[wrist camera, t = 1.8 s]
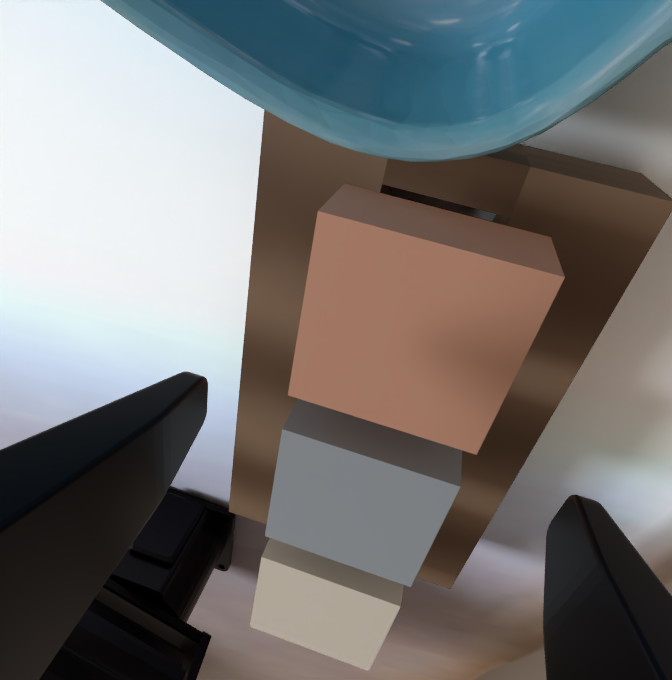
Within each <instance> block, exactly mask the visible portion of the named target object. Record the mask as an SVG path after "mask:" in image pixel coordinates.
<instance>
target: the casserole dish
mask: <svg viewBox="0 0 672 680" xmlns="http://www.w3.org/2000/svg"><path fill="white" fill-rule="evenodd" d="M101 1H102V2H104V3H105V4H106V5H108V6H109V7H111V8H112V9H113V10H115V11H116V12H117V13H119V14H120V15H122V16H123V17H124V18H126V19H127V20H129V21H130V22H131V23H133V24H134V25H135V26H137V27H138V28H140V29H141V30H143V31H144V32H146V33H147V34H149V35H150V36H151V37H153V38H154V39H156V40H157V41H159V42H160V43H162V44H163V45H165V46H166V47H168V48H169V49H170V50H172V51H173V52H175V53H176V54H178V55H179V56H181V57H182V58H184V59H185V60H187V61H188V62H190V63H191V64H192V65H194V66H195V67H197V68H198V69H200V70H201V71H203V72H204V73H206V74H207V75H209V76H210V77H212V78H213V79H215V80H217V81H218V82H220V83H221V84H223V85H224V86H226V87H228V88H229V89H231V90H232V91H234V92H236V93H237V94H239V95H240V96H242V97H243V98H245V99H247V100H249V101H250V102H252V103H254V104H256V105H257V106H259V107H261V108H263V109H264V110H266V111H268V112H270V113H272V114H273V115H275V116H277V117H279V118H280V119H282V120H284V121H286V122H287V123H289V124H292V125H294V126H296V127H298V128H300V129H302V130H304V131H306V132H308V133H311V134H313V135H315V136H317V137H319V138H321V139H323V140H325V141H327V142H330V143H333V144H336V145H339V146H342V147H345V148H348V149H351V150H354V151H358V152H362V153H366V154H370V155H374V156H378V157H383V158H389V159H396V160H403V161H409V162H441V161H451V160H462V159H471V158H475V157H479V156H483V155H487V154H491V153H495V152H499V151H501V150H504V149H506V148H508V147H511V146H513V145H516V144H518V143H520V142H523V141H525V140H527V139H530V138H532V137H534V136H536V135H539V134H541V133H543V132H545V131H546V130H548V129H550V128H551V127H553V126H554V125H556V124H558V123H559V122H561V121H563V120H564V119H566V118H567V117H569V116H571V115H572V114H574V113H575V112H577V111H579V110H580V109H582V108H583V107H585V106H586V105H588V104H589V103H591V102H592V101H594V100H596V99H597V98H598V97H600V96H601V95H602V94H604V93H605V92H606V91H608V90H609V89H610V88H612V87H613V86H614V85H616V84H617V83H618V82H620V81H621V80H623V79H624V78H625V77H627V76H628V75H629V74H630V73H632V72H633V71H634V70H635V69H637V68H638V67H639V66H640V65H642V64H643V63H644V62H645V61H647V60H648V59H649V58H650V57H652V56H653V55H654V54H655V53H657V52H658V51H659V50H660V49H662V48H663V47H664V46H666V45H668V44H669V43H671V42H672V0H101Z"/></svg>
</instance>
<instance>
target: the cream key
mask: <svg viewBox="0 0 672 680" xmlns="http://www.w3.org/2000/svg"><path fill="white" fill-rule="evenodd" d="M403 588H404V585H403V584H400V583H397V582H394V581H391V580H388V579H386V578H383V577H380V576H377V575H374V574H371V573H369V572H366V571H363V570H360V569H357V568H354V567H351V566H349V565H346V564H343V563H340V562H337V561H334V560H332V559H329V558H326V557H323V556H320V555H317V554H315V553H312V552H309V551H306V550H303V549H300V548H297V547H295V546H292V545H289V544H286V543H283V542H280V541H278V540H275V539H272V538H269V540H268V543H267V545H266V547H265V550H264V552H263V554H262V557H261V562H260V569H259V575H258V581H257V587H256V593H255V599H254V605H253V611H252V617H251V624H250V627H252V628H255V629H258V630H260V631H263V632H266V633H268V634H271V635H274V636H276V637H279V638H282V639H284V640H287V641H290V642H292V643H295V644H298V645H300V646H303V647H306V648H308V649H311V650H314V651H316V652H319V653H322V654H324V655H327V656H330V657H332V658H335V659H338V660H340V661H343V662H346V663H348V664H351V665H354V666H356V667H359V668H362V669H364V670H367V671H369V670H370V668H371V666H372V664H373V662H374V660H375V658H376V656H377V653H378V651H379V649H380V647H381V645H382V643H383V641H384V639H385V637H386V635H387V633H388V631H389V629H390V627H391V625H392V623H393V621H394V619H395V617H396V615H397V613H398V611H399V609H400V607H401V602H402V595H403Z"/></svg>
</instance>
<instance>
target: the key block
mask: <svg viewBox="0 0 672 680" xmlns="http://www.w3.org/2000/svg"><path fill="white" fill-rule="evenodd" d="M343 184H348V185H352V186H356V187H360V188H364V189H368V190H371V191H375V192H379V193H383V194H387V195H390V192H391V188H392V187H395V188H398V189H402V190H406V191H410V192H414V193H418V194H422V195H426V196H429V197H433V198H437V199H441V200H445V201H449V202H453V203H457V204H460V205H464V206H468V207H472V208H476V209H480V210H484V211H488V212H491V213H495V214H496V215H495V218H494V221H493V222H494V223H498V224H502V225H506V226H510V227H513V228H517V229H521V230H525V231H529V232H533V233H537V234H540V235H544V236H548V237H551V239H552V242H553V245H554V248H555V251H556V253H557V256H558V259H559V262H560V265H561V268H562V270H563V273H564V276H565V278H564V280H563V282H562V284H561V286H560V288H559V290H558V292H557V294H556V296H555V298H554V300H553V302H552V304H551V306H550V308H549V310H548V312H547V314H546V316H545V318H544V320H543V322H542V324H541V326H540V329H539V331H538V333H537V335H536V337H535V339H534V341H533V343H532V345H531V347H530V349H529V351H528V353H527V355H526V357H525V359H524V361H523V363H522V365H521V367H520V369H519V371H518V373H517V375H516V377H515V379H514V381H513V383H512V385H511V387H510V389H509V391H508V393H507V395H506V397H505V399H504V401H503V403H502V405H501V407H500V409H499V411H498V413H497V415H496V417H495V419H494V421H493V423H492V425H491V427H490V429H489V431H488V433H487V435H486V437H485V439H484V441H483V443H482V445H481V447H480V449H479V451H478V453H477V455H475V454H472V453H469V452H466V451H463V450H462V466H461V487H460V489H459V491H458V493H457V495H456V497H455V499H454V501H453V503H452V505H451V507H450V509H449V511H448V513H447V515H446V517H445V519H444V521H443V523H442V525H441V527H440V529H439V531H438V533H437V535H436V537H435V539H434V541H433V543H432V545H431V547H430V549H429V551H428V553H427V555H426V557H425V559H424V561H423V563H422V565H421V567H420V569H419V571H418V573H417V575H416V577H418V578H421V579H423V580H426V581H429V582H432V583H435V584H438V585H441V586H443V587H446V588H449V589H451V587H452V585H453V584H454V582H455V580H456V578H457V577H458V575H459V573H460V572H461V570H462V568H463V566H464V565H465V563H466V561H467V560H468V558H469V556H470V555H471V553H472V551H473V549H474V548H475V546H476V544H477V543H478V541H479V539H480V537H481V536H482V534H483V532H484V531H485V529H486V527H487V525H488V524H489V522H490V520H491V519H492V517H493V515H494V514H495V512H496V510H497V508H498V507H499V505H500V503H501V502H502V500H503V498H504V496H505V495H506V493H507V491H508V490H509V488H510V486H511V485H512V483H513V481H514V479H515V478H516V476H517V474H518V473H519V471H520V469H521V467H522V466H523V464H524V462H525V461H526V459H527V457H528V456H529V454H530V452H531V450H532V449H533V447H534V445H535V444H536V442H537V440H538V438H539V437H540V435H541V433H542V432H543V430H544V428H545V427H546V425H547V423H548V421H549V420H550V418H551V416H552V415H553V413H554V411H555V409H556V408H557V406H558V404H559V403H560V401H561V399H562V397H563V396H564V394H565V392H566V391H567V389H568V387H569V386H570V384H571V382H572V380H573V379H574V377H575V375H576V374H577V372H578V370H579V368H580V367H581V365H582V363H583V362H584V360H585V358H586V357H587V355H588V353H589V351H590V350H591V348H592V346H593V345H594V343H595V341H596V339H597V338H598V336H599V334H600V333H601V331H602V329H603V328H604V326H605V324H606V322H607V321H608V319H609V317H610V316H611V314H612V312H613V310H614V309H615V307H616V305H617V304H618V302H619V300H620V299H621V297H622V295H623V293H624V292H625V290H626V288H627V287H628V285H629V283H630V281H631V280H632V278H633V276H634V275H635V273H636V271H637V269H638V268H639V266H640V264H641V263H642V261H643V259H644V258H645V256H646V254H647V252H648V251H649V249H650V247H651V246H652V244H653V242H654V240H655V239H656V237H657V235H658V234H659V232H660V230H661V229H662V227H663V225H664V223H665V222H666V220H667V218H668V217H669V215H670V213H671V211H672V198H671V197H669V196H668V195H667V194H666V193H664V192H663V191H662V190H661V189H660V188H658V187H657V186H656V185H655V184H654V183H652V182H651V181H650V180H649V179H648V178H646V177H645V176H644V175H643V174H641V173H637V172H633V171H628V170H624V169H620V168H616V167H612V166H608V165H603V164H599V163H595V162H591V161H587V160H583V159H579V158H574V157H570V156H566V155H562V154H558V153H554V152H550V151H545V150H541V149H537V148H533V147H529V146H525V145H520V144H516V145H513V146H511V147H508V148H506V149H504V150H501V151H499V152H495V153H491V154H487V155H483V156H479V157H475V158H471V159H462V160H451V161H441V162H409V161H403V160H396V159H389V158H383V157H378V156H374V155H370V154H366V153H362V152H358V151H354V150H351V149H348V148H345V147H342V146H339V145H336V144H333V143H330V142H327V141H325V140H323V139H321V138H319V137H317V136H315V135H313V134H311V133H308V132H306V131H304V130H302V129H300V128H298V127H296V126H294V125H292V124H289V123H287V122H286V121H284V120H282V119H280V118H279V117H277V116H275V115H273V114H272V113H270V112H268V111H266V110H264V122H263V133H262V144H261V155H260V166H259V178H258V189H257V200H256V211H255V222H254V234H253V245H252V256H251V267H250V279H249V290H248V301H247V312H246V323H245V335H244V346H243V357H242V368H241V379H240V391H239V402H238V413H237V424H236V436H235V447H234V458H233V469H232V480H231V492H230V503H229V512H231V513H234V514H237V515H240V516H243V517H246V518H249V519H251V520H254V521H257V522H260V523H263V524H266V525H267V519H268V513H269V507H270V501H271V495H272V489H273V483H274V476H275V470H276V464H277V458H278V452H279V446H280V440H281V434H282V429H283V427H284V425H285V423H286V421H287V419H288V417H289V415H290V413H291V411H292V409H293V407H294V405H295V403H296V401H297V399H298V398H295V397H292V396H289V395H288V390H289V384H290V378H291V372H292V366H293V360H294V354H295V348H296V342H297V335H298V329H299V323H300V317H301V311H302V305H303V299H304V293H305V287H306V280H307V274H308V268H309V262H310V256H311V250H312V244H313V238H314V231H315V225H316V219H317V213H318V210H319V209H320V208H321V207H322V206H323V205H324V204H325V203H326V202H327V201H328V200H329V199H330V198H331V197H332V196H333V195H334V194H335V193H336V192H337V191H338V190H339V189H340V188H341V186H342V185H343Z"/></svg>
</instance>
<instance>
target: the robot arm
mask: <svg viewBox="0 0 672 680" xmlns="http://www.w3.org/2000/svg"><path fill="white" fill-rule="evenodd" d="M207 393H208V382H207V379H206V378H205V377H203V376H200V375H197V374H194V373H191V372H182V373H179V374H177V375H174V376H172V377H170V378H167V379H165V380H163V381H160V382H158V383H156V384H153V385H151V386H149V387H146V388H144V389H142V390H139V391H137V392H135V393H132V394H130V395H128V396H125V397H123V398H121V399H118V400H116V401H113V402H111V403H109V404H106V405H104V406H102V407H99V408H97V409H95V410H92V411H90V412H88V413H85V414H83V415H81V416H78V417H76V418H74V419H71V420H69V421H67V422H64V423H62V424H60V425H57V426H55V427H53V428H50V429H48V430H46V431H43V432H41V433H39V434H36V435H34V436H32V437H29V438H27V439H24V440H22V441H20V442H17V443H15V444H13V445H10V446H8V447H6V448H3V449H1V450H0V680H196V678H197V675H198V673H199V670H200V667H201V664H202V661H203V659H204V656H205V653H206V650H207V647H208V645H209V642H210V639H211V635H209V634H208V633H206V632H204V631H203V632H201V631H199V630H197V629H196V628H194V627H192V626H191V625H189V624H187V623H186V622H187V620H188V619H189V617H190V615H191V613H192V611H193V609H194V607H195V605H196V603H197V601H198V599H199V597H200V595H201V593H202V591H203V589H204V587H205V585H206V583H207V581H208V579H209V577H210V575H211V573H212V571H213V569H214V568H215V569H218V570H221V571H227V570H228V569H229V566H230V564H231V556H232V546H233V536H234V527H235V514H234V513H231V512H229V510H228V509H225V508H223V507H220V506H217V505H214V504H211V503H208V502H205V501H202V500H200V499H197V498H194V497H191V496H188V495H185V494H182V493H180V492H177V491H174V490H171V489H168V488H169V487H170V485H171V483H172V481H173V479H174V477H175V476H176V474H177V472H178V470H179V468H180V466H181V464H182V462H183V461H184V459H185V457H186V455H187V453H188V451H189V449H190V447H191V446H192V444H193V442H194V440H195V438H196V436H197V434H198V432H199V430H200V429H201V427H202V425H203V423H204V420H205V417H206V413H207ZM543 634H544V651H545V664H546V677H547V680H672V596H671V595H670V593H669V592H668V591H667V590H666V588H665V587H664V585H663V584H662V583H661V581H660V580H659V579H658V578H657V576H656V575H655V574H654V572H653V571H652V570H651V568H650V567H649V566H648V565H647V563H646V562H645V561H644V559H643V558H642V557H641V555H640V554H639V553H638V552H637V550H636V549H635V548H634V546H633V545H632V544H631V542H630V541H629V540H628V539H627V537H626V536H625V535H624V533H623V532H622V531H621V530H620V528H619V527H618V526H617V524H616V523H615V522H614V520H613V519H612V518H611V517H610V515H609V514H608V513H607V511H606V510H605V509H604V507H603V506H602V505H601V504H600V503H599V502H597V501H595V500H592V499H588V498H585V497H582V496H579V495H571V496H570V497H569V498H568V499H567V500H566V501H565V503H564V504H563V506H562V507H561V508H560V510H559V511H558V513H557V514H556V516H555V517H554V518H553V520H552V521H551V523H550V525H549V527H548V531H547V536H546V559H545V584H544V610H543Z"/></svg>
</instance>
